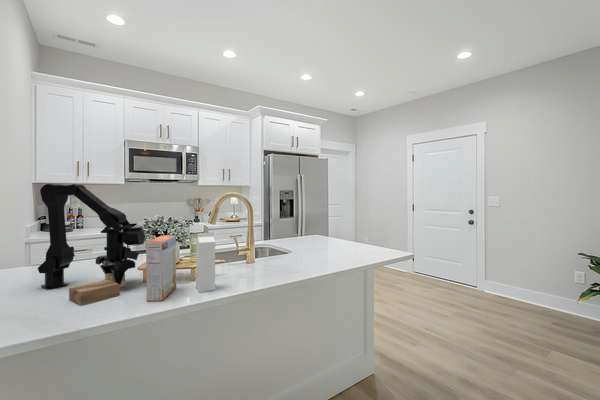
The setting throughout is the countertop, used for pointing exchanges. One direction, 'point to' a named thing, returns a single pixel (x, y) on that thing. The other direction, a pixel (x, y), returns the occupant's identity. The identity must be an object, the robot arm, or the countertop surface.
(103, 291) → the walnut box
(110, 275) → the oak cube
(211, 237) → the milk
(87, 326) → the countertop surface
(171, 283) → the cracker box
